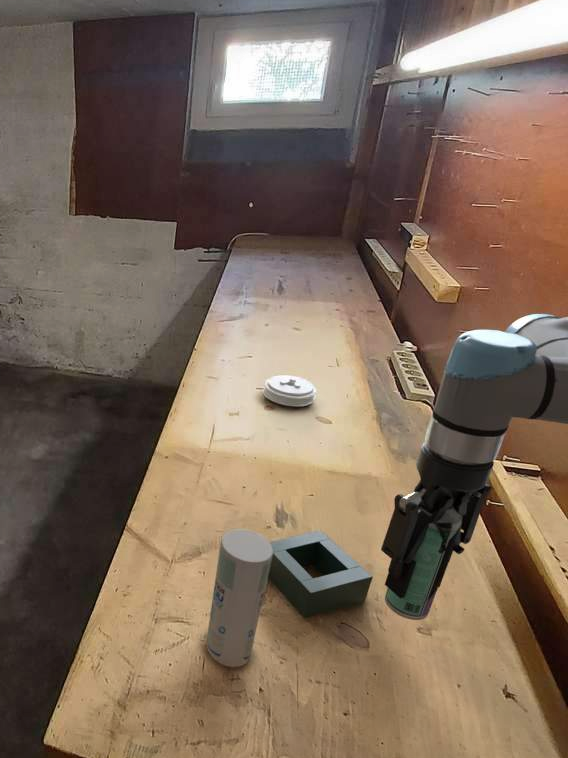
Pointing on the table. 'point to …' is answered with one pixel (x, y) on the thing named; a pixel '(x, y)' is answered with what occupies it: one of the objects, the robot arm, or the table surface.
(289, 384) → the lid
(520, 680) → the table surface
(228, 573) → the spray can
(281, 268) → the table surface
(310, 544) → the holder
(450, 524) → the spray can
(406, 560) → the robot arm
